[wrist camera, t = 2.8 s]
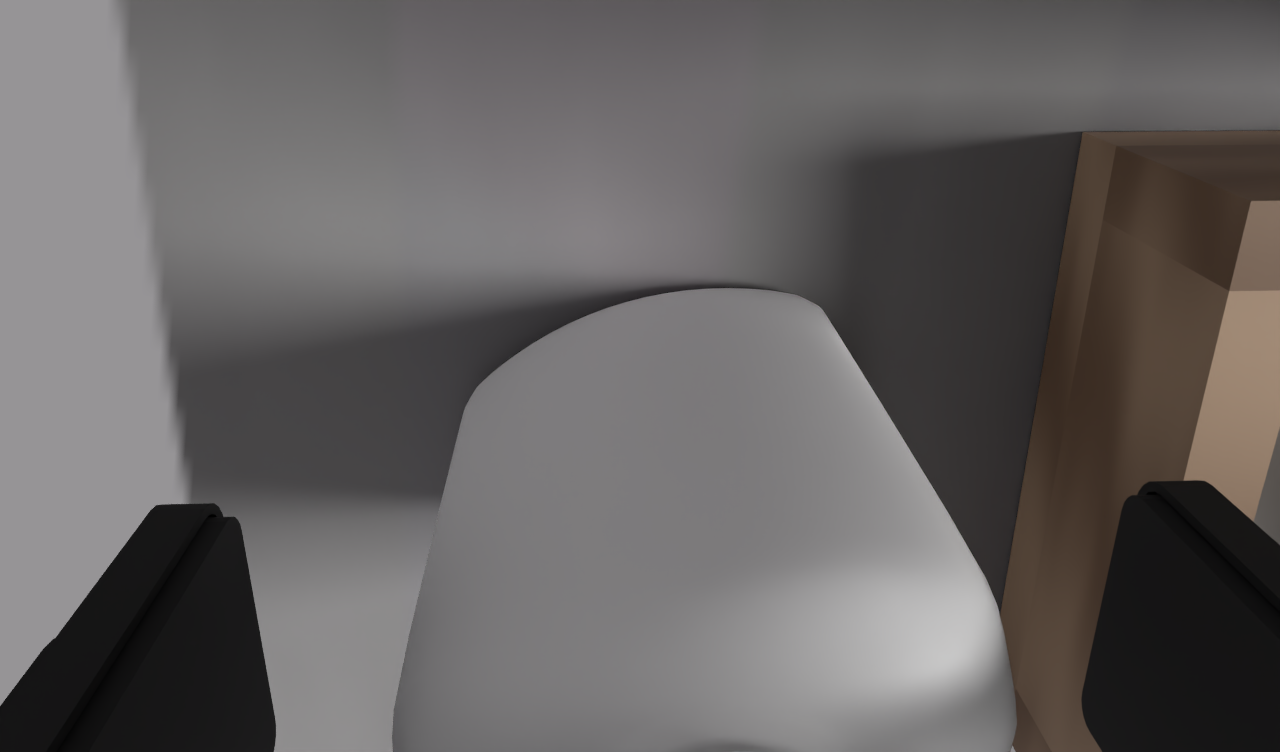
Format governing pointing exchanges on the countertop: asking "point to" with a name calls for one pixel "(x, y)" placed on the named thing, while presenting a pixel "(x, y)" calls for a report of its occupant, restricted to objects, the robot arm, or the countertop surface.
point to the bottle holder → (1142, 385)
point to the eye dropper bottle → (696, 553)
